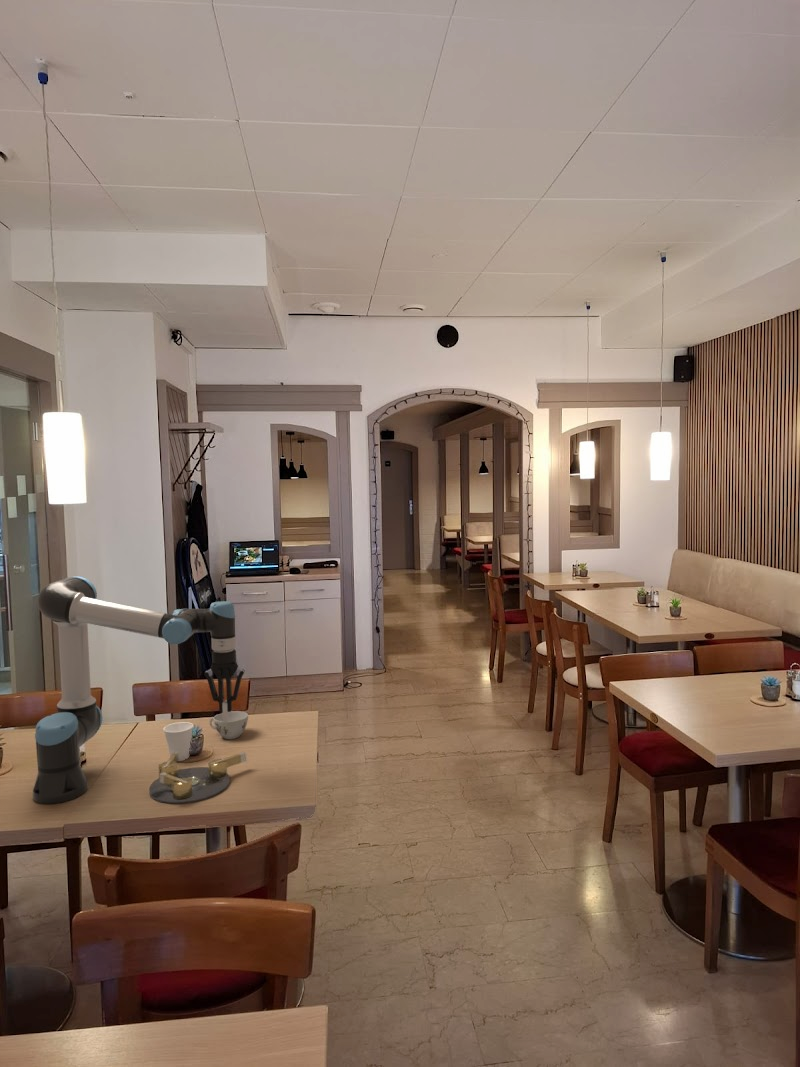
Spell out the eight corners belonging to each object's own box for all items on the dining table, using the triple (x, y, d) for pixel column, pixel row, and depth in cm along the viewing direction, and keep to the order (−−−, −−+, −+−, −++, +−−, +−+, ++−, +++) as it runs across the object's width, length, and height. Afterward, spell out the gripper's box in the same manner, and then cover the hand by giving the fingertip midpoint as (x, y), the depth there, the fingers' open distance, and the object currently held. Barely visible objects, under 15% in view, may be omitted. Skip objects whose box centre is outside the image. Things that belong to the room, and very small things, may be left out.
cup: (186, 764, 236) (184, 732, 236) (159, 763, 238) (157, 731, 238) (200, 753, 246) (198, 722, 245) (174, 751, 248) (172, 721, 247)
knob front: (196, 793, 211) (195, 779, 211) (180, 800, 207) (179, 786, 206) (170, 783, 219) (169, 769, 219) (154, 790, 214) (153, 776, 214)
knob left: (175, 780, 221) (174, 766, 221) (156, 781, 221) (156, 767, 221) (185, 763, 234) (184, 750, 234) (168, 764, 234) (167, 751, 233)
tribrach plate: (138, 805, 207) (138, 797, 207) (162, 771, 231) (161, 764, 231) (221, 801, 208) (220, 794, 208) (235, 768, 232) (235, 761, 232)
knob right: (214, 780, 221) (214, 766, 220) (205, 775, 225) (205, 761, 224) (250, 767, 230) (249, 754, 229) (240, 763, 234) (240, 750, 233)
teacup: (254, 731, 266) (254, 711, 265) (239, 744, 254) (238, 722, 253) (218, 729, 270) (217, 708, 269) (201, 741, 258) (200, 719, 257)
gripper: (200, 653, 223) (203, 726, 225) (242, 652, 224) (244, 724, 226) (205, 647, 231) (208, 718, 232) (246, 646, 231) (248, 716, 233)
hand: (226, 721), depth 229 cm, fingers closed
